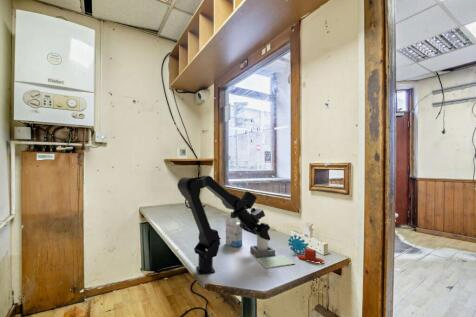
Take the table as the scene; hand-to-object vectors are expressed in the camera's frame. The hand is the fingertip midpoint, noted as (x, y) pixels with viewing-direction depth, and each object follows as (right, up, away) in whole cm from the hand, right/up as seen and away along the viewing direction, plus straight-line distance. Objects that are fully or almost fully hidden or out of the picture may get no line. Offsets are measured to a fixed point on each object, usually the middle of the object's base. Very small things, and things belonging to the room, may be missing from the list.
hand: (263, 237), depth 115 cm
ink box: (-15, -8, +12) cm, 21 cm away
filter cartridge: (-1, -8, -1) cm, 8 cm away
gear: (+17, -8, +2) cm, 19 cm away
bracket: (+20, -8, -8) cm, 23 cm away
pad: (+4, -7, -11) cm, 14 cm away
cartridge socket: (-1, -8, -1) cm, 8 cm away
